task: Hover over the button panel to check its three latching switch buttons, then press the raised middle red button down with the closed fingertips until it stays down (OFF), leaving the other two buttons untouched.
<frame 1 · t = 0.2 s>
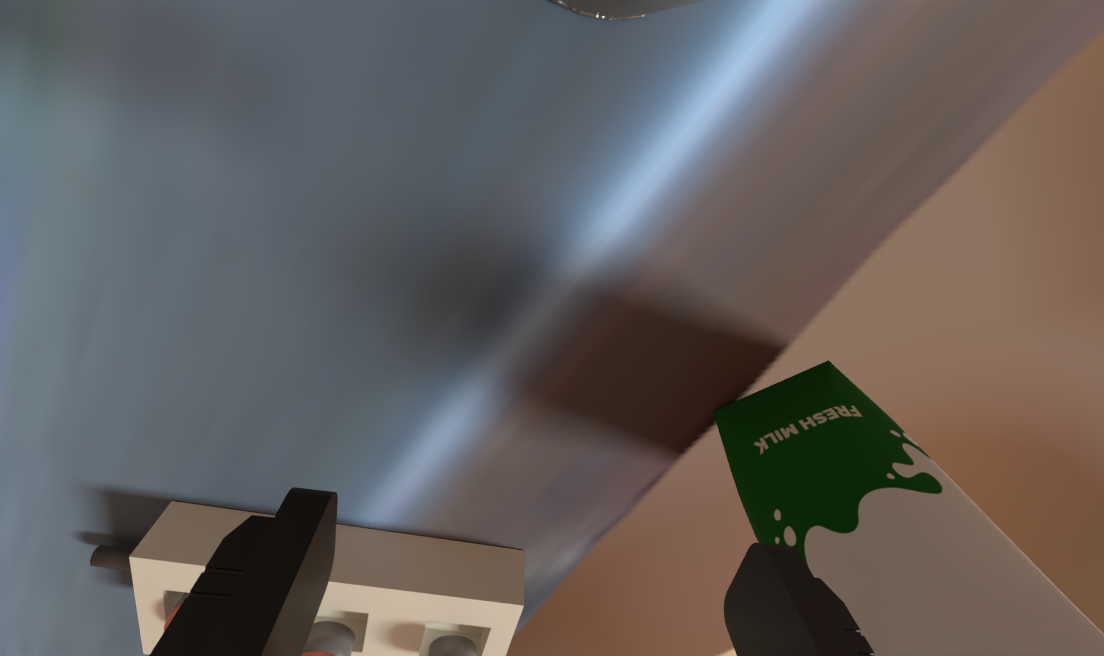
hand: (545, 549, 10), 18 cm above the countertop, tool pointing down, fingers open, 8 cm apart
milk carton: (785, 426, 32), on the countertop
button panel: (350, 572, 36), on the countertop
button 1: (203, 610, 32), point 4 cm above the countertop, slide at -2.0 cm
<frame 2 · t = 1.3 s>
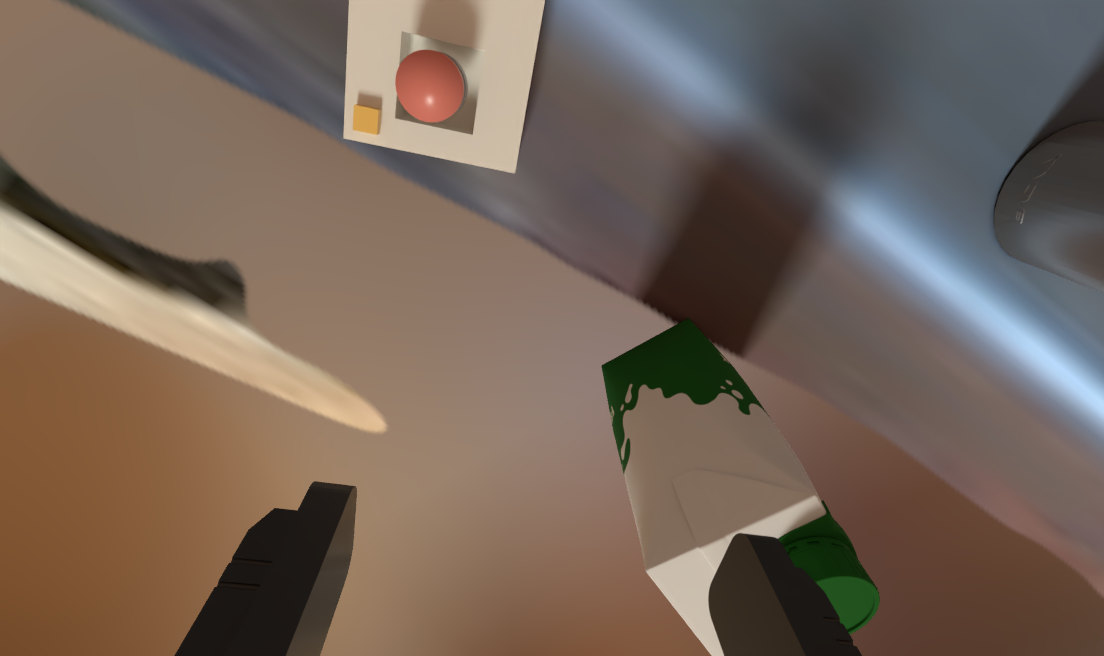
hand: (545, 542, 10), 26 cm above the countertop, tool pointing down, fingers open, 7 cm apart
button 3: (433, 86, 25), point 6 cm above the countertop, slide at 0.0 cm
milk carton: (663, 375, 40), on the countertop
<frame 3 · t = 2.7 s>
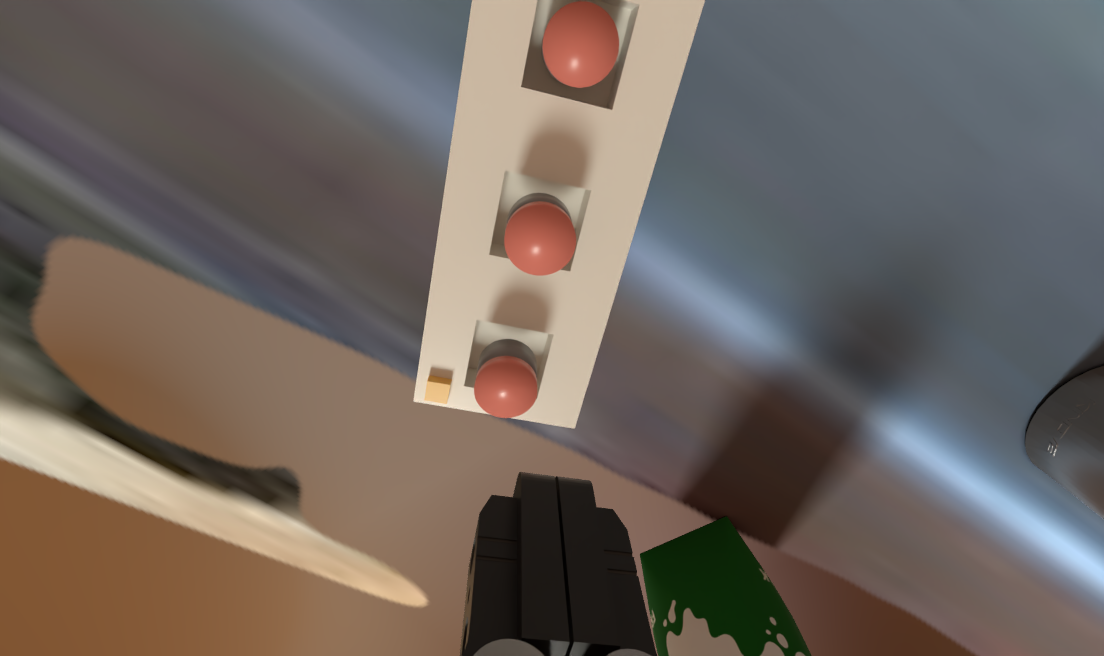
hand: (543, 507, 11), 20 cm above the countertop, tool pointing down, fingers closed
button 3: (506, 377, 27), point 6 cm above the countertop, slide at 0.0 cm
milk carton: (698, 560, 41), on the countertop
button panel: (537, 204, 29), on the countertop
button 2: (539, 233, 23), point 6 cm above the countertop, slide at 0.0 cm
button 1: (578, 47, 22), point 4 cm above the countertop, slide at -2.0 cm
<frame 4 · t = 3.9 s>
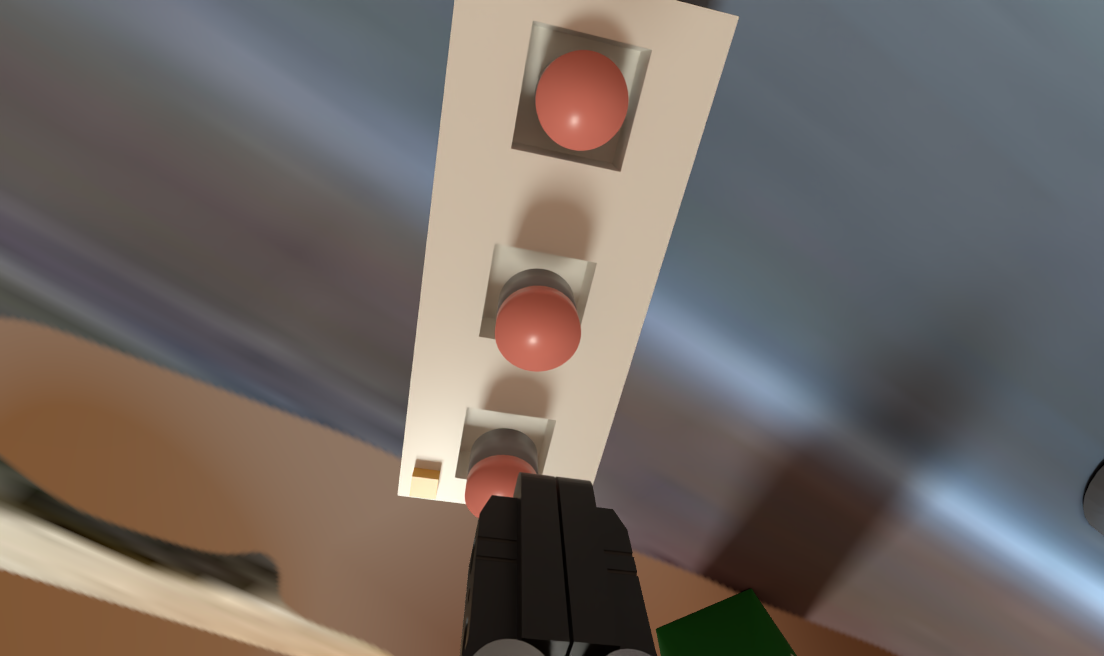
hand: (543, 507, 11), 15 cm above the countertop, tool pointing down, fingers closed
button 3: (503, 475, 23), point 6 cm above the countertop, slide at 0.0 cm
milk carton: (720, 633, 37), on the countertop
button panel: (534, 267, 25), on the countertop
button 2: (537, 318, 20), point 6 cm above the countertop, slide at 0.0 cm
button 1: (578, 100, 18), point 4 cm above the countertop, slide at -2.0 cm
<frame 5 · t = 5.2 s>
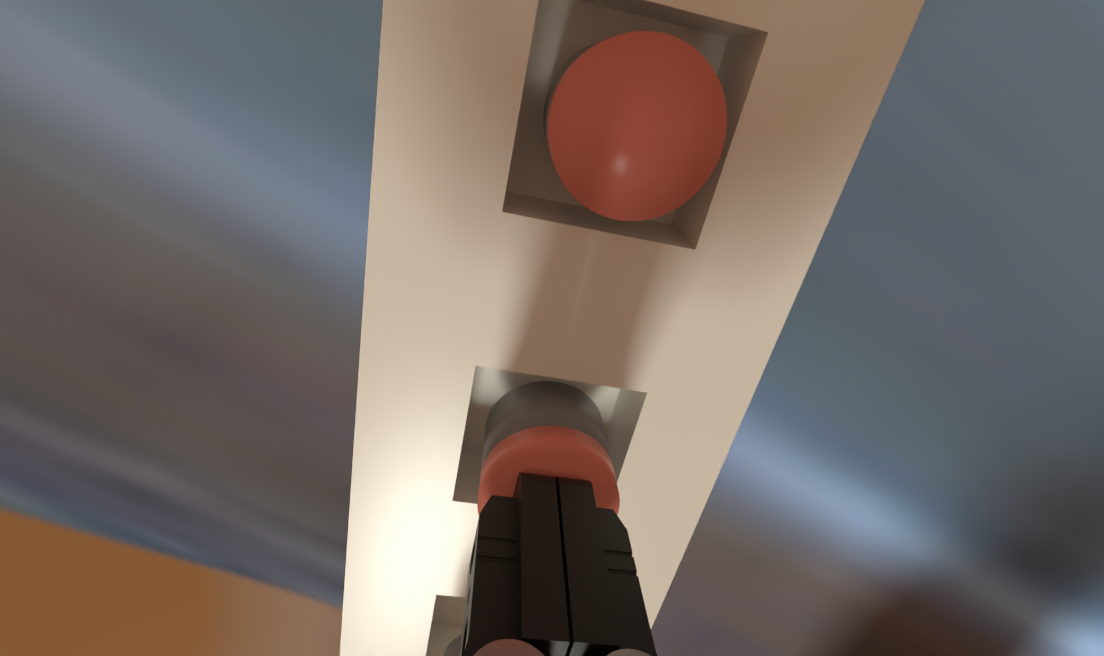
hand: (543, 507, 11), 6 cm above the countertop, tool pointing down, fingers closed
button panel: (540, 366, 17), on the countertop
button 2: (546, 465, 12), point 5 cm above the countertop, slide at -1.1 cm, touching gripper
button 1: (624, 125, 10), point 4 cm above the countertop, slide at -2.0 cm
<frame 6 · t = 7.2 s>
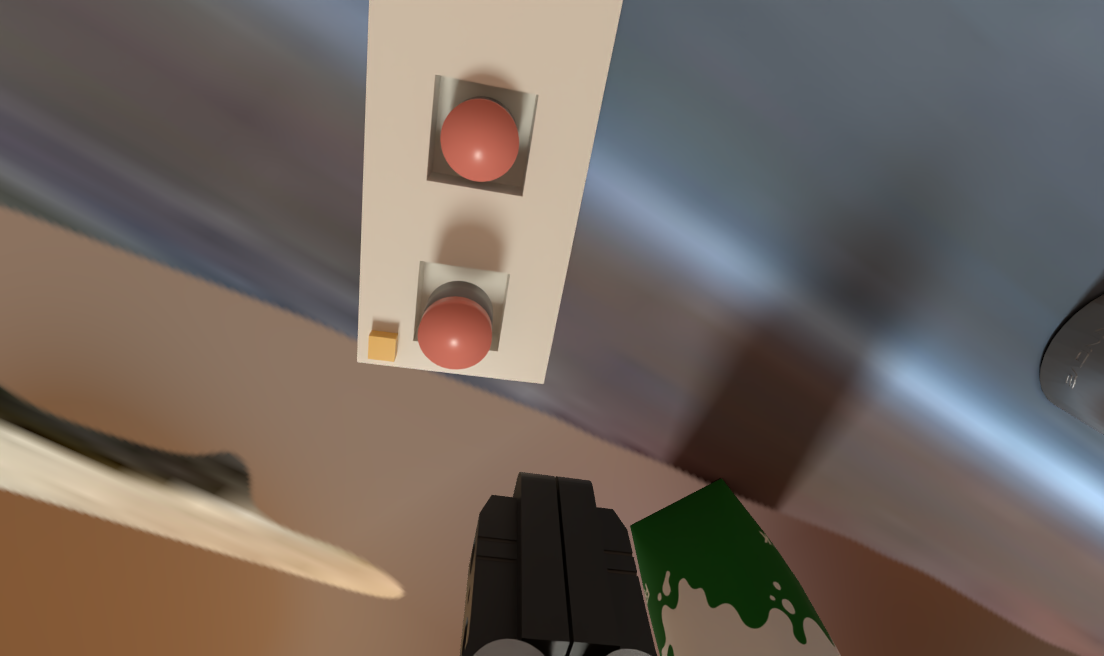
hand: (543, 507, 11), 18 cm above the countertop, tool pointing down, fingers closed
button 3: (457, 324, 23), point 6 cm above the countertop, slide at 0.0 cm
milk carton: (694, 529, 38), on the countertop
button panel: (484, 128, 25), on the countertop
button 2: (481, 137, 22), point 4 cm above the countertop, slide at -2.0 cm
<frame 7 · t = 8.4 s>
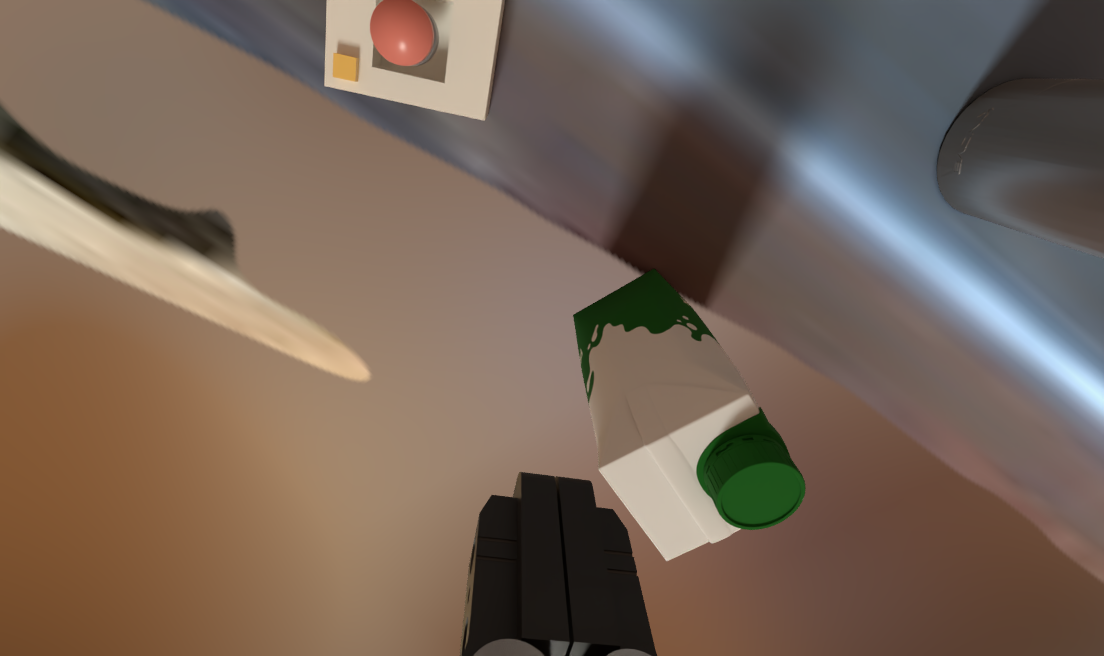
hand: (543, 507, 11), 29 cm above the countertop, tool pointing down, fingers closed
button 3: (406, 33, 28), point 6 cm above the countertop, slide at 0.0 cm
milk carton: (632, 325, 42), on the countertop
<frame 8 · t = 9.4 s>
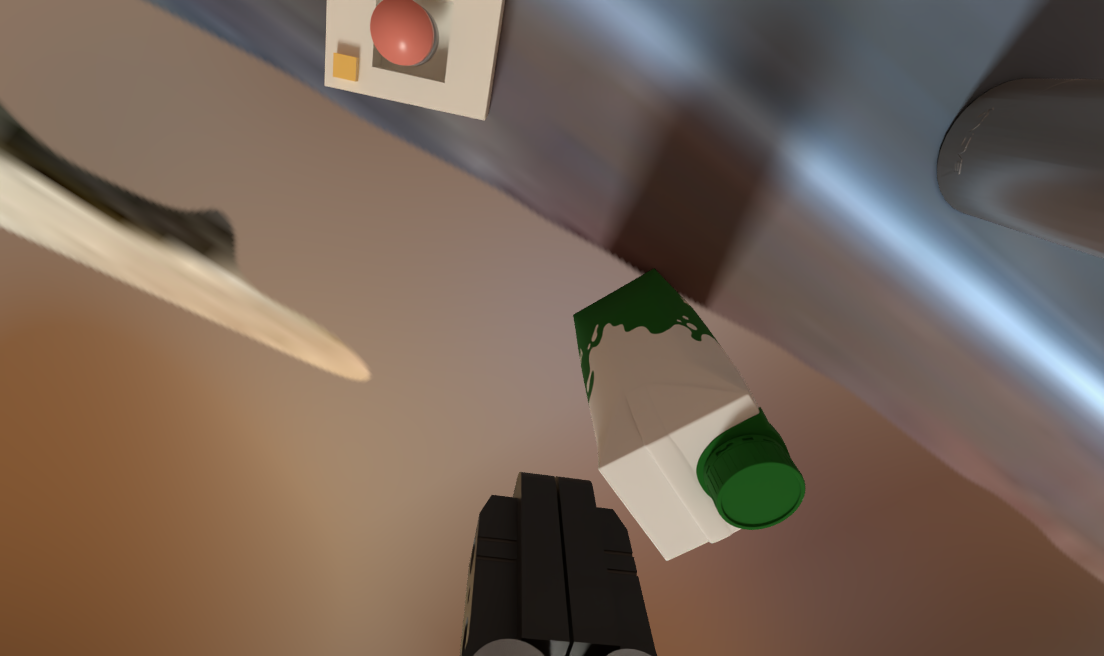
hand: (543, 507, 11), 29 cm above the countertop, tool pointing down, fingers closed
button 3: (406, 33, 28), point 6 cm above the countertop, slide at 0.0 cm
milk carton: (632, 325, 42), on the countertop
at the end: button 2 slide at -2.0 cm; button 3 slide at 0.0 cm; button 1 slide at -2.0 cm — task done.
